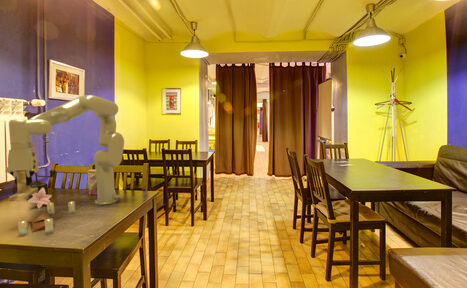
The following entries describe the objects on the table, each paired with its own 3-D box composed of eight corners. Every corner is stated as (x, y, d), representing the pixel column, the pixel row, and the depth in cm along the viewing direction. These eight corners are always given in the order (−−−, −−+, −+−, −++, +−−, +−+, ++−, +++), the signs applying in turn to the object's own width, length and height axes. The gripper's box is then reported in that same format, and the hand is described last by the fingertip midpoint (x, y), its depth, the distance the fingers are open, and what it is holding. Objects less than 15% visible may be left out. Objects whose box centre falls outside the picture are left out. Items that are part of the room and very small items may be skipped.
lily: (23, 212, 146) (29, 198, 144) (25, 199, 155) (30, 186, 153) (49, 214, 154) (55, 200, 152) (49, 201, 163) (54, 188, 161)
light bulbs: (76, 211, 143) (75, 200, 143) (51, 233, 115) (50, 220, 114) (49, 213, 140) (48, 202, 140) (17, 236, 112) (16, 223, 112)
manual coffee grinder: (28, 201, 162) (26, 172, 160) (26, 198, 170) (24, 170, 168) (58, 196, 172) (56, 169, 171) (55, 193, 180) (53, 167, 179)
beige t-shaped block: (38, 191, 133) (36, 167, 132) (19, 200, 117) (17, 173, 116) (28, 191, 132) (27, 168, 131) (9, 201, 116) (7, 174, 115)
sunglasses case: (27, 221, 129) (35, 208, 131) (43, 225, 134) (51, 212, 135) (31, 233, 116) (40, 218, 118) (49, 236, 120) (57, 222, 122)
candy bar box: (87, 195, 176) (86, 170, 175) (92, 193, 181) (90, 169, 180) (104, 195, 175) (102, 170, 174) (108, 193, 180) (106, 169, 179)
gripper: (45, 145, 128) (47, 182, 129) (5, 146, 124) (8, 184, 126) (37, 146, 121) (39, 186, 122) (-6, 147, 117) (-2, 188, 119)
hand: (23, 184), depth 124 cm, fingers closed on beige t-shaped block, 3 cm apart
